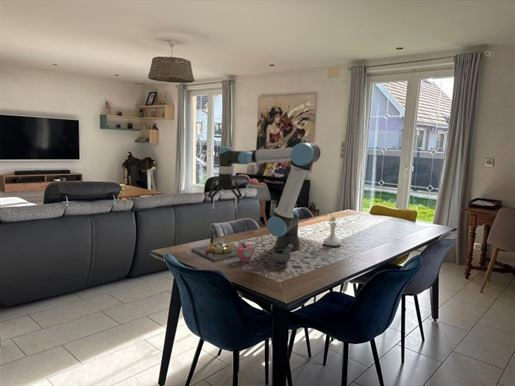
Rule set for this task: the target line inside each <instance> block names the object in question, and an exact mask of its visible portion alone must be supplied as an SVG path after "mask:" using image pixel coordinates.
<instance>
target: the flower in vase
mask: <svg viewBox="0 0 515 386" xmlns="http://www.w3.org/2000/svg"><path fill="white" fill-rule="evenodd" d="M332 208H333V205H330V206H329V209H327V210H326V212H325V213H324V216H323V217H327V216H328V215H329V213H330V216H331V219H329V222H328V224H329V225H330V234H329V235H328V236H326V237H325V238H324V239H323V240H322V242H323V244H324V245H326V246H330V247H331V246H332V247H337V246H341V245H342V241H341V239H340V238H338V236H336V234H335V231H336V228H337V225H338V222H335V221H336V217H335V216H333V215H332V212H331V211H332Z"/></svg>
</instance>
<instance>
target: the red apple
mask: <svg viewBox="0 0 515 386" xmlns="http://www.w3.org/2000/svg"><path fill="white" fill-rule="evenodd" d="M236 253H237V258H238V259H239V261H240V262H241V263H248V262H249V261H250V260H251V258H252V257H253V255H254V253H255V248H254V246H253V245H251V244H244V243H243V242H241V243H240V245H239V246H238V247H237V249H236Z"/></svg>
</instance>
